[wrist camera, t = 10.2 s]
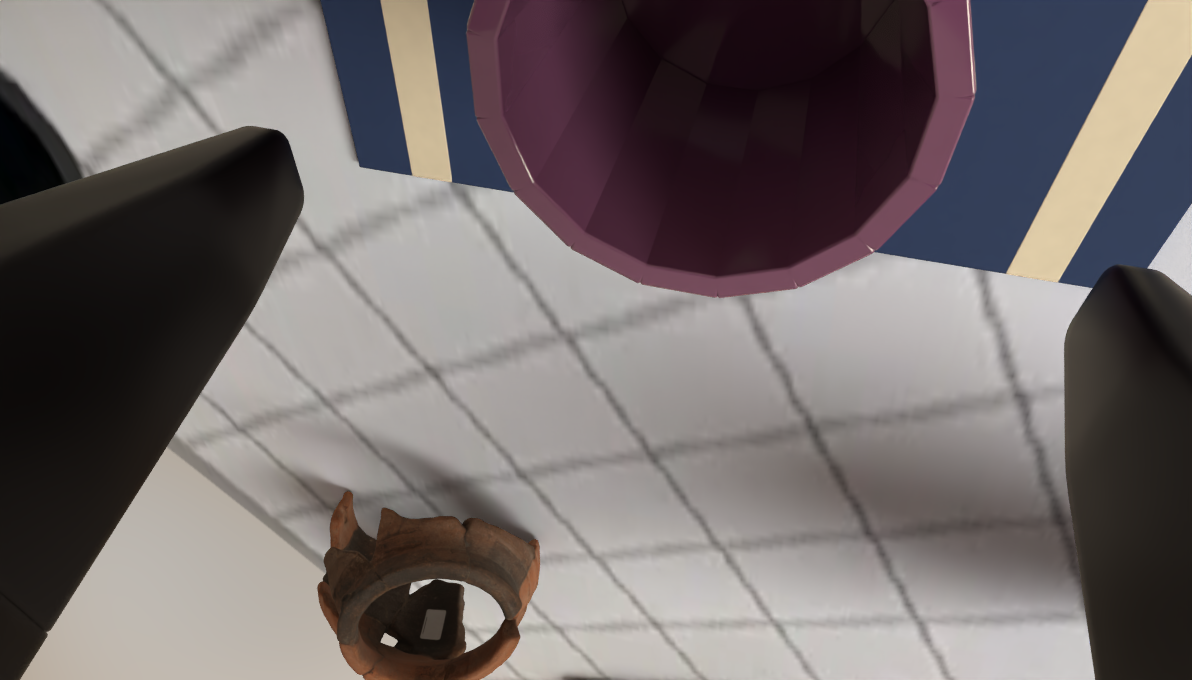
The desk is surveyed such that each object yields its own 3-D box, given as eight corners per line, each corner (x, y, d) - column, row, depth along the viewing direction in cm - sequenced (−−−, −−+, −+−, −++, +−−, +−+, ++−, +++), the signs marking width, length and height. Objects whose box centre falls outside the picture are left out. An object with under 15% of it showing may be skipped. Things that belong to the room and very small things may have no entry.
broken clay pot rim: (308, 440, 34) (279, 576, 27) (519, 409, 35) (543, 530, 28) (360, 626, 40) (347, 778, 33) (539, 593, 41) (564, 731, 34)
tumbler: (997, -265, 12) (1079, -160, 7) (881, 113, 17) (884, 329, 12) (598, -287, 13) (438, -207, 8) (593, 74, 18) (489, 258, 13)
